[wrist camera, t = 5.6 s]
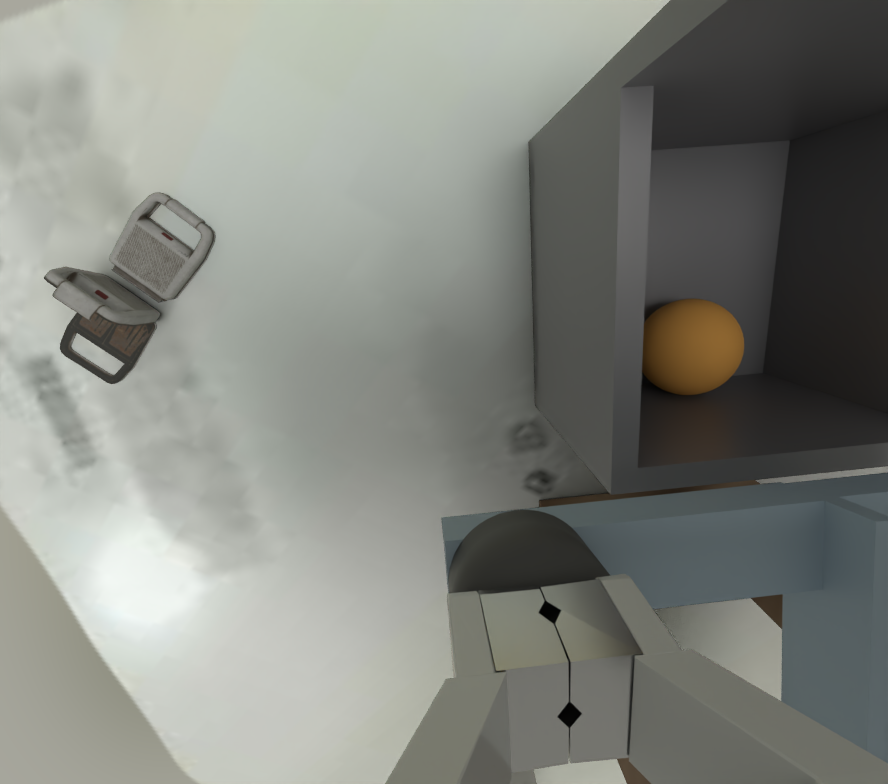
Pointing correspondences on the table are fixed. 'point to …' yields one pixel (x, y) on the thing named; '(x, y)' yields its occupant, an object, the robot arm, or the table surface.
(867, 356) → the bin
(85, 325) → the grey hinged case
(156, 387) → the table surface
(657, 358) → the ball
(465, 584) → the lever
